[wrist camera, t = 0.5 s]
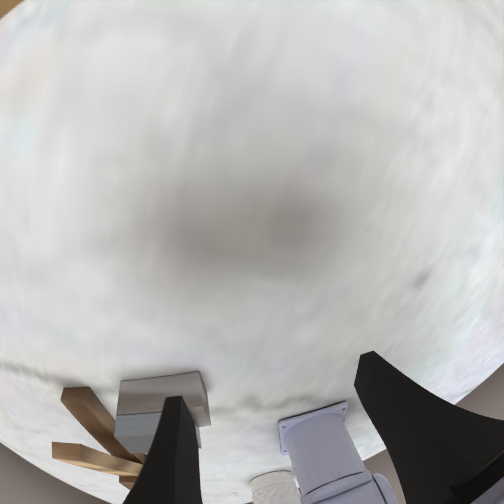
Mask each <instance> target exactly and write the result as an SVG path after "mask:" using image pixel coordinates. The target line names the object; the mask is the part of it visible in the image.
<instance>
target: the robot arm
mask: <svg viewBox="0 0 504 504" xmlns="http://www.w3.org/2000/svg"><path fill="white" fill-rule="evenodd" d="M354 386H355V389H356V391H357V394H358V396H359V399H360V401H361V403H362V405H363V407H364V409H365V411H366V413H367V414H368V416H369V418H370V419H371V421H372V423H373V425H374V426H375V428H376V430H377V431H378V433H379V435H380V437H381V438H382V440H383V442H384V444H385V446H386V448H387V450H388V452H389V454H390V457H391V459H392V462H393V464H394V467H395V469H396V472H397V475H398V478H399V480H400V484H401V487H402V490H403V493H404V496H405V500H406V504H504V421H503V420H498V419H493V418H489V417H485V416H482V415H479V414H476V413H473V412H470V411H468V410H465V409H463V408H460V407H458V406H455V405H453V404H451V403H449V402H447V401H445V400H443V399H441V398H439V397H438V396H436V395H434V394H433V393H431V392H429V391H428V390H426V389H424V388H423V387H421V386H420V385H418V384H417V383H415V382H414V381H413V380H411V379H410V378H408V377H407V376H406V375H404V374H403V373H402V372H400V371H399V370H398V369H396V368H395V367H394V366H392V365H391V364H390V363H389V362H387V361H386V360H385V359H383V358H382V357H381V356H380V355H378V354H377V353H376V352H374V351H371V352H368V353H365V354H362V355H360V359H359V364H358V369H357V373H356V378H355V382H354ZM347 408H348V403H347V402H343V403H340V404H337V405H334V406H331V407H327V408H324V409H321V410H318V411H314V412H311V413H307V414H304V415H300V416H297V417H293V418H289V419H285V420H282V421H280V422H279V423H278V425H279V435H280V445H281V453H282V455H288V454H289V456H290V459H291V462H292V466H293V469H294V472H295V475H296V478H297V481H298V484H299V487H300V490H301V493H302V495H303V496H302V497H300V501H301V504H399V503H398V501H397V498H396V496H395V494H394V492H393V490H392V488H391V486H390V484H389V482H388V481H387V479H386V478H385V477H384V476H383V475H379V474H378V473H376V474H374V475H372V476H371V474H370V471H369V470H367V471H366V469H365V466H364V464H363V462H362V460H361V458H360V456H359V454H358V452H357V449H356V447H355V445H354V443H353V441H352V439H351V437H350V435H349V433H348V431H347V428H346V426H345V424H344V420H345V416H346V412H347ZM123 504H203V503H202V497H201V489H200V472H199V453H198V441H197V434H196V428H195V422H194V420H193V418H192V416H191V414H190V412H189V410H188V407H187V405H186V403H185V401H184V399H183V397H182V395H180V396H172V397H166V398H165V400H164V405H163V409H162V413H161V416H160V420H159V423H158V426H157V429H156V432H155V435H154V438H153V441H152V444H151V447H150V449H149V452H148V454H147V457H146V459H145V462H144V464H143V466H142V469H141V471H140V473H139V475H138V477H137V479H136V481H135V483H134V485H133V487H132V488H131V490H130V492H129V494H128V495H127V497H126V499H125V500H124V502H123Z"/></svg>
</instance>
